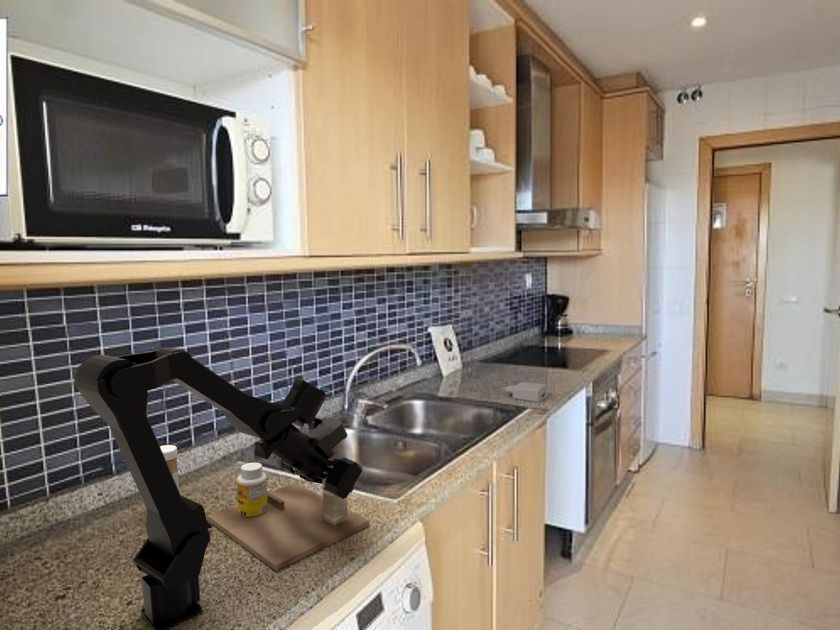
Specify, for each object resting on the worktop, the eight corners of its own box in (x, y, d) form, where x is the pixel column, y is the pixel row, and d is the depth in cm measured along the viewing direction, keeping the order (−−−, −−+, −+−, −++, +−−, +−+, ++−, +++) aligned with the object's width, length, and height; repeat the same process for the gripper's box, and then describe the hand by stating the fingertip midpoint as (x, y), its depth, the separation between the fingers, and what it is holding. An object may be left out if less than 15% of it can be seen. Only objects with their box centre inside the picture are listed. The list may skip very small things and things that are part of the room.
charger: (508, 391, 199) (547, 397, 191) (497, 397, 192) (538, 403, 183) (508, 379, 199) (547, 383, 191) (497, 384, 191) (538, 389, 183)
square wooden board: (275, 571, 88) (272, 500, 87) (207, 520, 106) (203, 460, 104) (369, 525, 103) (367, 464, 101) (295, 487, 120) (293, 434, 118)
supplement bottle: (236, 512, 108) (234, 463, 107) (265, 507, 111) (263, 458, 110) (239, 525, 103) (238, 473, 102) (269, 519, 106) (268, 469, 105)
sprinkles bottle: (152, 518, 107) (147, 452, 105) (163, 507, 111) (158, 444, 110) (175, 517, 107) (170, 452, 105) (185, 507, 111) (180, 443, 110)
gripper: (352, 419, 92) (400, 462, 101) (291, 399, 105) (339, 439, 114) (315, 477, 87) (369, 518, 97) (256, 449, 100) (309, 487, 109)
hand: (346, 487), depth 104 cm, fingers open, 4 cm apart
